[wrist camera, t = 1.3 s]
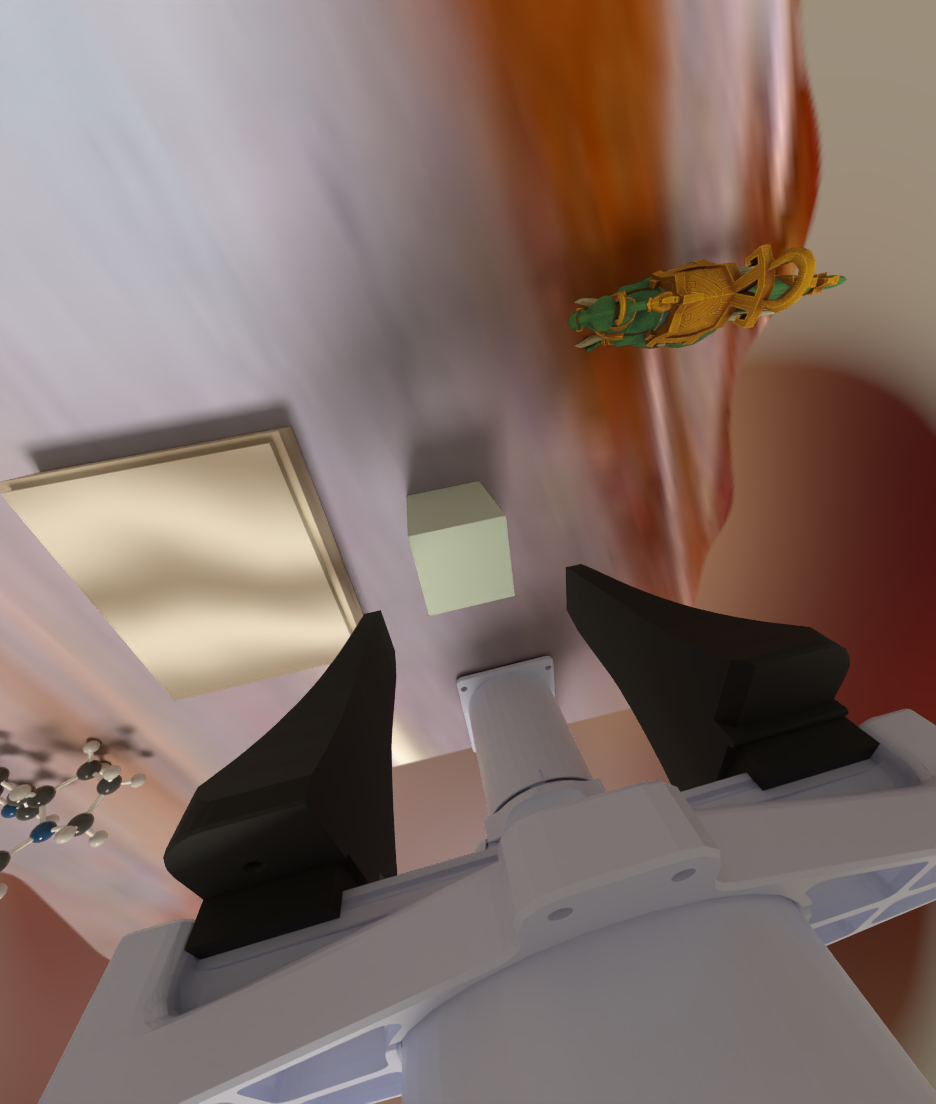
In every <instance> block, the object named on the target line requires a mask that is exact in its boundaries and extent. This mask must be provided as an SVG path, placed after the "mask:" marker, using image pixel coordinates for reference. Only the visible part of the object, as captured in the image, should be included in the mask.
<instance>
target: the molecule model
mask: <svg viewBox="0 0 936 1104" xmlns="http://www.w3.org/2000/svg"><path fill="white" fill-rule="evenodd" d="M100 745H101V744H100V742H99V741H97V740H92V741H89V742H87V743H86V744H85V745H84V747H83V752H84V753H86V754H88V762H86V763H84V764H83V765H81V766H80V767H79V769H78V770H77V773H76V776H74V777H72V778H71V779H69V780H67V781H65V782H63V783H61V784H60V785H58V786H56V787H53V786H50V785H46V786H41V787H39V788H37V789H36V787H35V786H34V785H32V784H24V785H20V786H18V787H16V788H15V787H14V786H12V785H11V784H9V783H7V782H6V780H7V779H8V777H9V774H10V771H9V770H8V769H7V768H5V767H0V796H1V794H2V793H3V791H4V787H5V788H7V789H8V790H10V791H11V792H10V793H9V795H8V796H7V799H6V800H5V799H4V798H2V797H0V803H1V804H2V805H4V807H3V809H2V810H1V815H2V817H4V818H12V817H15V816H16V818H17V819H18V820H21V821H25V820H29V819H32V818H34V817H35V816H36V817H37V818H39V819H40V824H39V825H37V826H36V827H35V828H34V829H33V830H32V832H31V833H30V838H29V839H28V840H26V841H25V842H23V843H22V844H20V845H19V846H17V847H15V848H14V849H12V850H11V851H9V852H7V851H0V872H1V871H2V870H3V869H4V868H5V867H6V866H7V865H8V863H9V862H10V858H11V855H12V854H14V853H15V852H17V851H18V850H20V849H21V848H23V847H24V846H26V845H27V844H29V843H31V842H33V843H40V842H43V841H45V840H47V839H49V838H50V837H51V836H52V835H53V834H54V833H55V832H56V831H58V832H57V833H56V835H55V837H54V841H55V843H57V844H63V843H66V842H68V841H69V840H70V839H72V838H73V837H75V836H79V835H81V834H83V833H87V834H88V835H89V836H90V837H91V838H90V839H89V846H90V847H97V846H100V845H101V844H103V843H104V842H105V840H106V839H107V836H108V833H107V832H106V831H104V830H101V831H98V832H96V833H95V832H94V831H93V830H92V829H90V827H91V826H92V825H93V822H94V816H93V815H92V814H91V812H92V811H93V810H94V808H95V807H96V806H97V804H98V803H99V801H100V800H101V799H102V797H103V796H104V795H108V794H111V793H113V792H114V791H116V790H117V789H118V788H119V787H120V785H124V784H130V786H131V787H132V788H137V787H139V786H141V785H142V784H143V783H144V782H145V780H146V776H145V775H144V774H137V775H135V776H134V777H132V779H131V780H124V781H122V778H121V776H120V775H119V774H120V772H121V768H120V766H118V765H112V766H111V765H110V764H109V763H101V762H100V761H97V760H93V755H94V752H96V751H97V750H98V749H99V748H100ZM102 775H103V776H102ZM94 777H95V778H97V779H98V780H99V781H100V782H99V783H98V785H97V792H98V793H99V794H100V795H99V796H98V797H97V799H96V800H95V802H94V803H93V804H92V806H91V807H90V808H89V810H88V811H87V812H86V813H82V814H79V815H77V816H75V817H74V818H73V819H72V820H71V821H70V822H69V823H68V825H63V826H58V827H57V823H58V822H59V816H58V815H55V814H54V815H50V816H48V817H47V816H46V812H45V805H46V804H48V803H49V802H50V801H51V800H52V799H53V798H54V796H55V794H56V790H58V789H60V788H62V787H63V786H65V785H67V784H69V783H71V782H72V781H74V780H76V779H80V780H89V779H92V778H94ZM6 891H7V885H5V884H0V899H1V898H2V897H3V896H4V895H5V893H6Z"/></svg>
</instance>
